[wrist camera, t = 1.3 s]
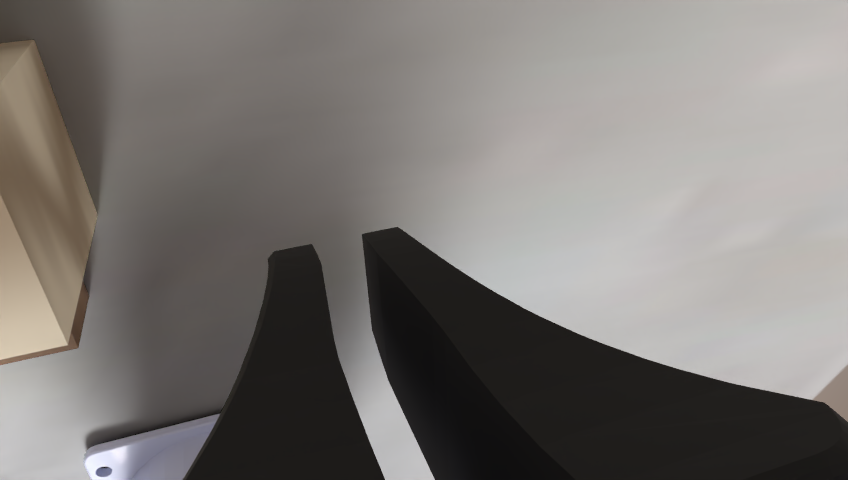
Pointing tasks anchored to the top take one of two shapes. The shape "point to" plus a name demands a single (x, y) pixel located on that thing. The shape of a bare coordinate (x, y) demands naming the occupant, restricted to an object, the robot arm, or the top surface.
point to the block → (38, 210)
